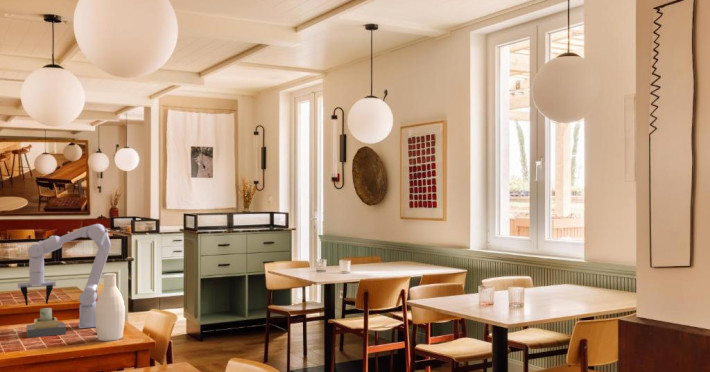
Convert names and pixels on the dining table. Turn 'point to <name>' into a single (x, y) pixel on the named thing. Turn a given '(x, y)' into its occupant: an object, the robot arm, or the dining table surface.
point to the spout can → (46, 314)
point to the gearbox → (46, 328)
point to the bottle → (110, 311)
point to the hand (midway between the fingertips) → (36, 304)
